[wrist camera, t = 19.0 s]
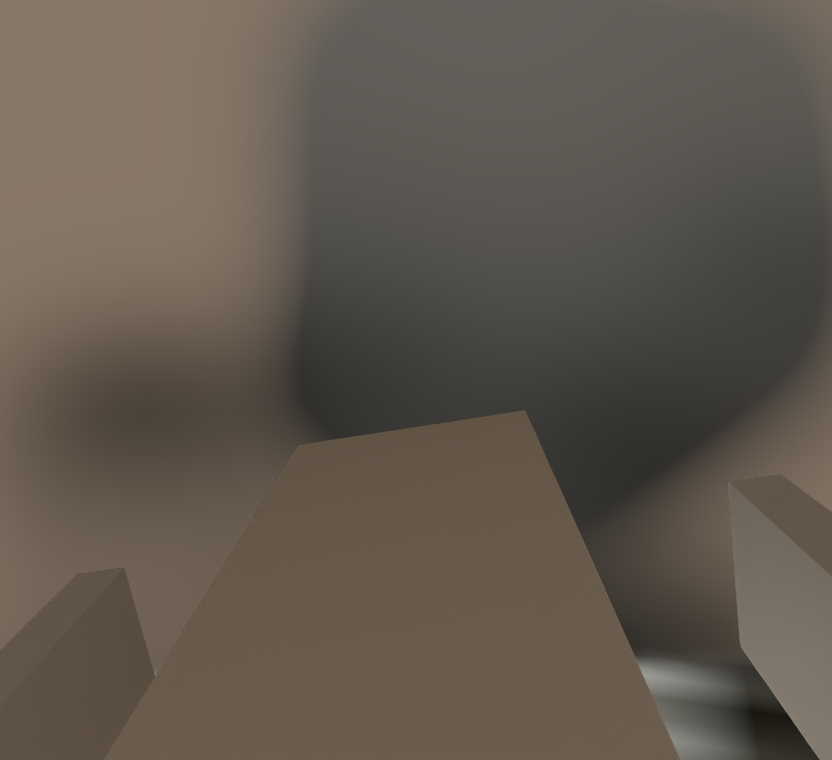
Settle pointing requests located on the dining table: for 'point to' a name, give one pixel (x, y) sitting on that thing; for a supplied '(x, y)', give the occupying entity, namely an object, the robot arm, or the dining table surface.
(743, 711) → the dining table surface
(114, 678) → the robot arm
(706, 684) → the dining table surface
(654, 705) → the white and wooden mallet
